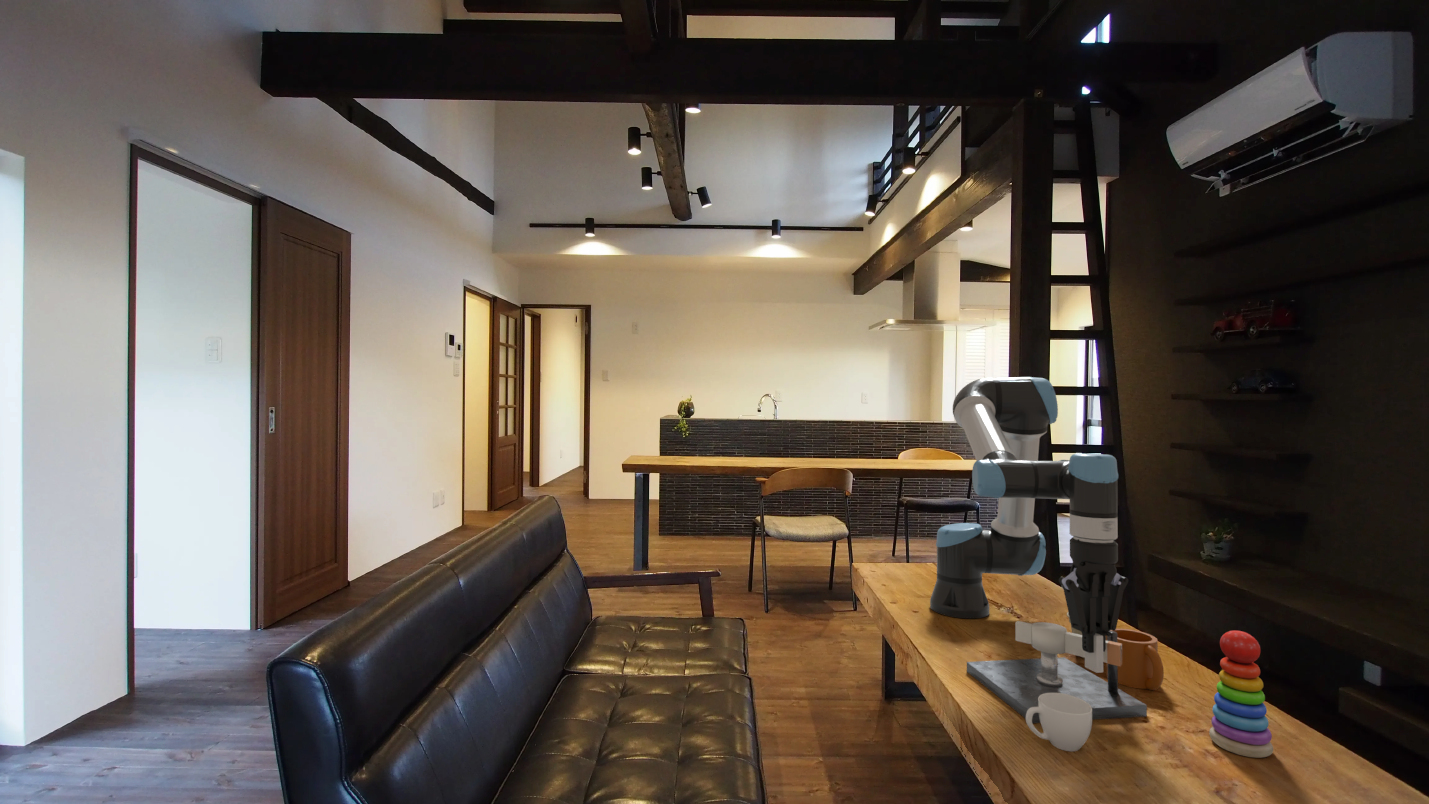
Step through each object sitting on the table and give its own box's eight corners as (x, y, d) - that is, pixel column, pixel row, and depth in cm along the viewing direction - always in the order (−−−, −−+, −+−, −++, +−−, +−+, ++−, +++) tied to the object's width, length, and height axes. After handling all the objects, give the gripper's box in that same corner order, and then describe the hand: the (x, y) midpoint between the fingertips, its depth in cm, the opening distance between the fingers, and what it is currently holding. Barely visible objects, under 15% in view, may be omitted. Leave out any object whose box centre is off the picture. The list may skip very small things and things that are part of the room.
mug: (1128, 695, 120) (1127, 648, 121) (1098, 670, 132) (1096, 627, 132) (1179, 697, 119) (1177, 649, 119) (1144, 672, 131) (1142, 628, 131)
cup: (1102, 758, 98) (1102, 714, 98) (1037, 756, 99) (1037, 713, 99) (1076, 733, 106) (1076, 692, 106) (1016, 731, 106) (1016, 691, 107)
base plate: (966, 671, 131) (966, 609, 131) (1064, 666, 134) (1063, 605, 134) (1031, 723, 109) (1030, 648, 110) (1146, 716, 112) (1145, 642, 112)
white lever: (1011, 643, 124) (1011, 623, 124) (1022, 636, 128) (1022, 616, 128) (1117, 670, 111) (1116, 647, 111) (1125, 660, 115) (1125, 639, 115)
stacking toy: (1196, 735, 105) (1195, 623, 106) (1240, 733, 106) (1239, 621, 106) (1240, 761, 97) (1238, 640, 98) (1287, 759, 98) (1285, 638, 98)
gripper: (1078, 544, 109) (1078, 680, 109) (1141, 541, 112) (1142, 675, 111) (1047, 535, 117) (1047, 663, 116) (1107, 534, 119) (1107, 659, 119)
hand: (1094, 669), depth 114 cm, fingers closed
